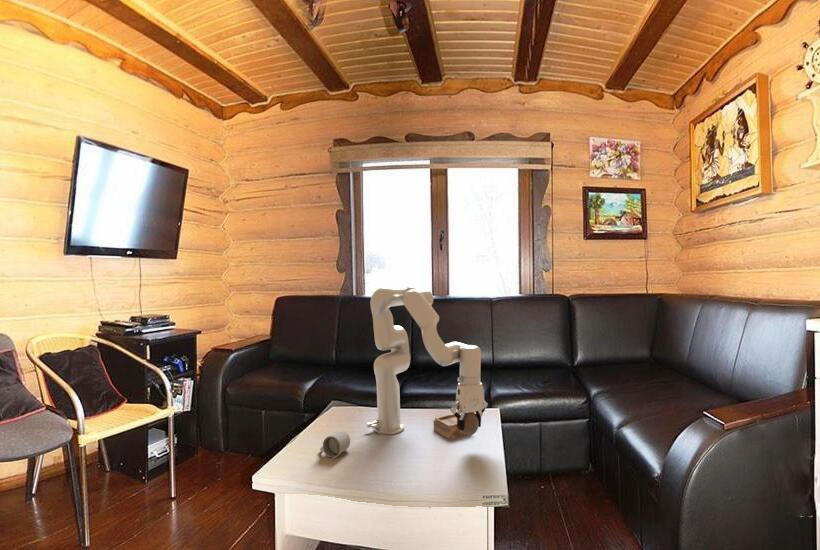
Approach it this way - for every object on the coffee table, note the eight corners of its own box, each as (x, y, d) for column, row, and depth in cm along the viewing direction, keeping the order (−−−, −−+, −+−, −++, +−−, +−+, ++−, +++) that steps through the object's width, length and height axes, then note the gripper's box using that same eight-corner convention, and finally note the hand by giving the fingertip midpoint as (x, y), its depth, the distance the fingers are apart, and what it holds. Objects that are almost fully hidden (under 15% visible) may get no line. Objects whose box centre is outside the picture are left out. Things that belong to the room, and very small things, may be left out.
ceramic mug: (352, 450, 152) (351, 429, 151) (340, 459, 144) (340, 438, 144) (327, 446, 155) (327, 426, 155) (315, 455, 148) (314, 434, 148)
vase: (466, 438, 145) (467, 413, 144) (455, 430, 151) (456, 407, 151) (482, 434, 148) (482, 410, 148) (471, 427, 154) (471, 404, 154)
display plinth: (448, 439, 159) (447, 426, 159) (433, 429, 168) (433, 417, 168) (471, 433, 164) (470, 421, 164) (455, 424, 173) (455, 412, 173)
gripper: (455, 385, 141) (455, 436, 142) (495, 379, 149) (494, 427, 150) (444, 379, 148) (443, 428, 149) (482, 374, 156) (481, 419, 157)
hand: (469, 427), depth 149 cm, fingers closed on vase, 6 cm apart
